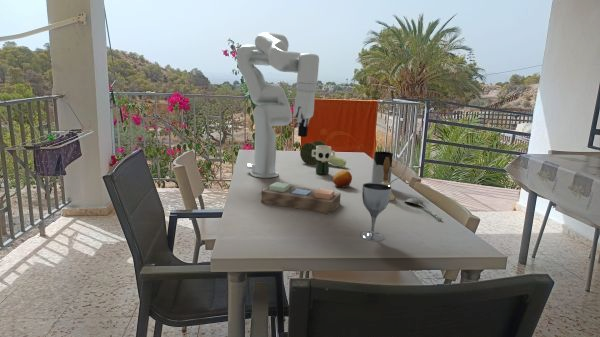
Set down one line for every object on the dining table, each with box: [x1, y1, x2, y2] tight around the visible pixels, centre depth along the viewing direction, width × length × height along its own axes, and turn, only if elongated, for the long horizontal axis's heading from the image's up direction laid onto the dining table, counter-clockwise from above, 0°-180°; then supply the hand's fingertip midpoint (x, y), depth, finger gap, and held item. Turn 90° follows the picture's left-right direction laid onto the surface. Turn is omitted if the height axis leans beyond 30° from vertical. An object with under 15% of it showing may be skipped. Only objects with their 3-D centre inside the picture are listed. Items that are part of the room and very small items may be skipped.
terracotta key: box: [314, 187, 335, 200], centre depth 139 cm, size 6×6×3 cm
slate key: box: [291, 189, 311, 196], centre depth 142 cm, size 6×6×3 cm
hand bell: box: [382, 157, 396, 202], centre depth 153 cm, size 8×8×16 cm
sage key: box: [269, 181, 291, 192], centre depth 144 cm, size 6×6×3 cm
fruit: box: [332, 169, 353, 188], centre depth 168 cm, size 8×8×8 cm
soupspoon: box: [404, 197, 443, 221], centre depth 142 cm, size 22×3×7 cm
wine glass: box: [359, 182, 392, 242], centre depth 114 cm, size 8×8×15 cm
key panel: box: [260, 185, 342, 215], centre depth 142 cm, size 26×12×4 cm, turn 70°
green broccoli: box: [299, 140, 347, 169], centre depth 209 cm, size 25×12×11 cm, turn 59°
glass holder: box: [370, 151, 408, 185], centre depth 167 cm, size 9×14×15 cm, turn 70°
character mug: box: [312, 145, 336, 175], centre depth 187 cm, size 11×7×13 cm, turn 94°
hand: (302, 136), depth 154 cm, fingers closed
